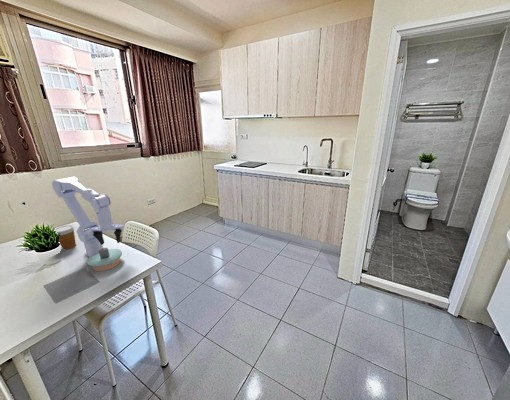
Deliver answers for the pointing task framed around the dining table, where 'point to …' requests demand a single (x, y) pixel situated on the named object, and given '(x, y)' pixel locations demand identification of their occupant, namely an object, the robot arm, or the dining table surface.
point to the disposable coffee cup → (66, 236)
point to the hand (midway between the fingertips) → (110, 243)
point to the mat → (70, 285)
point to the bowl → (106, 266)
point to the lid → (104, 257)
